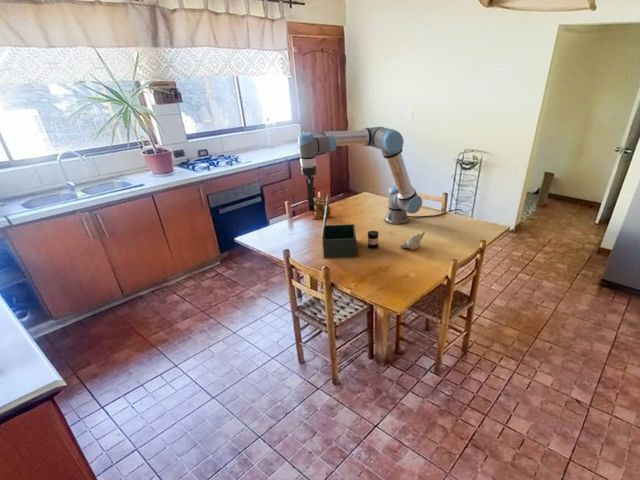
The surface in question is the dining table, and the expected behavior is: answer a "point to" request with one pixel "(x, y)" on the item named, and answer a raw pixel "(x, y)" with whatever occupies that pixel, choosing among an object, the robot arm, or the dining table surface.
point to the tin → (372, 239)
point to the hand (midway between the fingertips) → (312, 206)
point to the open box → (340, 241)
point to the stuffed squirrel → (320, 210)
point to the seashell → (413, 242)
